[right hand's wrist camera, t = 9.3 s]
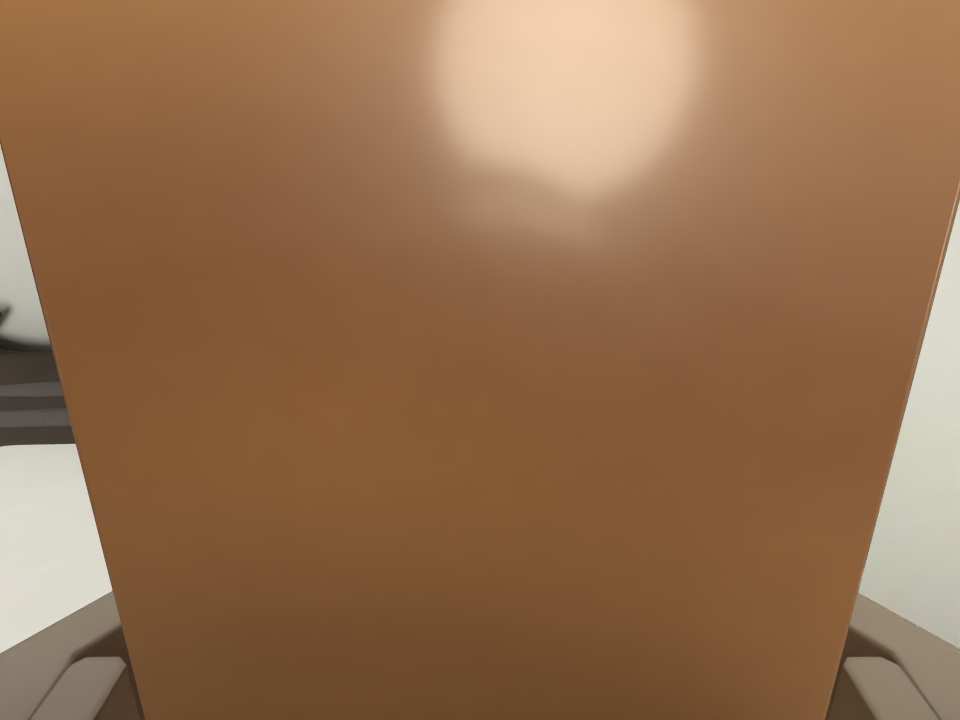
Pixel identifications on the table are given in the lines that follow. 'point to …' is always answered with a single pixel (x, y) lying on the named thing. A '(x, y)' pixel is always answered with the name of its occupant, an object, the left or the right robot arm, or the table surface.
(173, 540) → the bar
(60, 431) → the toy gun
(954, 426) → the table surface
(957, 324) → the table surface
